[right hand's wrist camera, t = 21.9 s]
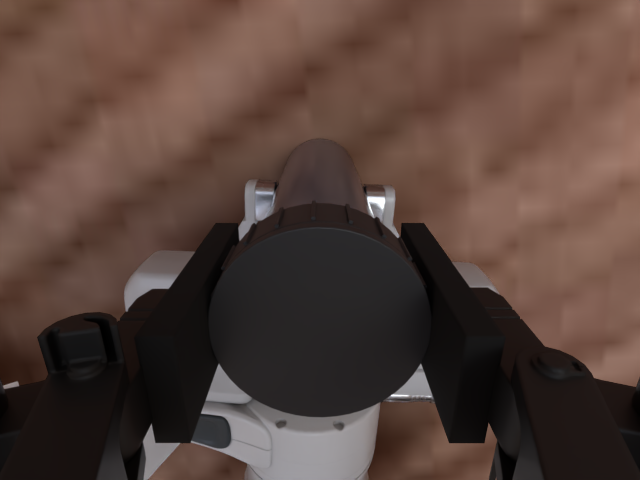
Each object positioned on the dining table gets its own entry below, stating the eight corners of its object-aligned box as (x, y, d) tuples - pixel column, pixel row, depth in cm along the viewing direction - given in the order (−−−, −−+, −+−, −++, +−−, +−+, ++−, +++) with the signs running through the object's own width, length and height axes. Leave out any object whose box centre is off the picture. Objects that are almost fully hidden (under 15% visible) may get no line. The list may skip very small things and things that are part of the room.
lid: (224, 190, 11) (204, 212, 9) (435, 211, 11) (458, 237, 9) (221, 364, 13) (205, 410, 11) (398, 378, 13) (411, 426, 11)
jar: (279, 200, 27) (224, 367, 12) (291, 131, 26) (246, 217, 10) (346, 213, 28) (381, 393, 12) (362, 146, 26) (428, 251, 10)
